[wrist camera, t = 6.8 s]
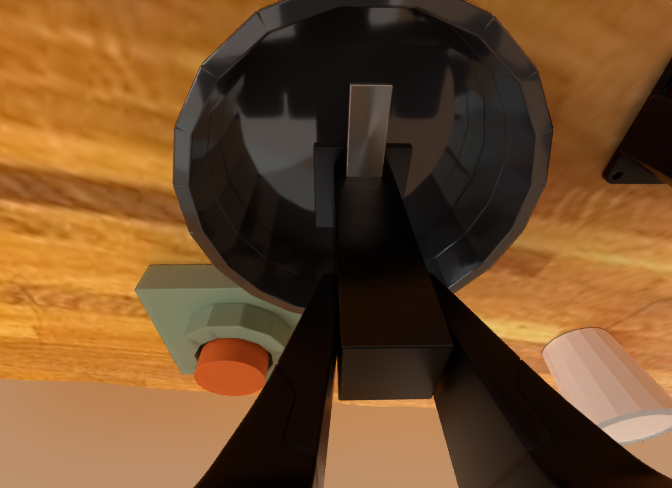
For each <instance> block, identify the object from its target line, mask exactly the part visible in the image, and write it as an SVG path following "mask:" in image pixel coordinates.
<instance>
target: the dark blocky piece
mask: <svg viewBox="0 0 672 488" xmlns="http://www.w3.org/2000/svg"><path fill="white" fill-rule="evenodd" d="M392 89H393V85H392V83H350V91H349V115H348V139H347V143H322V142H315V143H314V144H313V157H314V193H315V227H316V228H333V246H334V273H337V288H338V307H339V316H338V343H337V372H338V399H339V400H395V399H431V398H432V395H433V393H434V391H435V389H436V386H437V384H438V382H439V380H440V377H441V375H442V373H443V371H444V368H445V366H446V364H447V362H448V359H449V357H450V355H451V353H452V350H453V348H454V344H453V341H452V339H451V336H450V333H449V330H448V327H447V324H446V322H445V319H444V316H443V313H442V310H441V308H440V305H439V302H438V299H437V296H436V293H435V291H434V288H433V285H432V282H431V279H430V277H429V274H428V271H427V268H426V265H425V262H424V260H423V257H422V254H421V251H420V248H419V245H418V243H417V240H416V237H415V234H414V231H413V229H412V226H411V223H410V220H409V217H408V214H407V212H406V209H405V206H404V203H403V201H404V195H405V189H406V184H407V178H408V172H409V167H410V161H411V156H412V150H413V147H412V145H411V144H410V143H386V138H387V130H388V122H389V114H390V105H391V97H392Z"/></svg>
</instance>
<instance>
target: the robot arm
mask: <svg viewBox="0 0 672 488" xmlns="http://www.w3.org/2000/svg"><path fill="white" fill-rule="evenodd" d="M616 172H617V173H616ZM615 173H616V174H615ZM614 174H615V175H614ZM602 178H603V179H604V180H605V181H607V182H608V183H610V184H667V185H669V186H671V187H672V58H671V60H670V62H669V63H668V65H667V67H666V68H665V70H664V72H663V73H662V75H661V77H660V79H659V80H658V82H657V84H656V85H655V87H654V89H653V90H652V92H651V94H650V95H649V97H648V99H647V100H646V102H645V104H644V105H643V107H642V109H641V110H640V112H639V114H638V115H637V117H636V119H635V120H634V122H633V124H632V125H631V127H630V129H629V130H628V132H627V134H626V135H625V137H624V139H623V140H622V142H621V144H620V145H619V147H618V149H617V150H616V152H615V154H614V155H613V157H612V159H611V160H610V162H609V164H608V165H607V167H606V169H605V170H604V172H603V175H602ZM428 274H429V277H430V279H431V282H432V285H433V288H434V291H435V293H436V296H437V299H438V302H439V305H440V308H441V310H442V313H443V316H444V319H445V322H446V324H447V327H448V330H449V333H450V336H451V339H452V341H453V344H454V348H453V350H452V353H451V355H450V357H449V359H448V362H447V364H446V366H445V368H444V371H443V373H442V375H441V377H440V380H439V382H438V384H437V386H436V389H435V391H434V393H433V396H434V400H435V403H436V407H437V411H438V414H439V418H440V422H441V425H442V429H443V432H444V436H445V440H446V443H447V447H448V451H449V454H450V458H451V461H452V465H453V469H454V472H455V476H456V480H457V483H458V487H459V488H672V479H671V478H669V477H667V476H665V475H663V474H661V473H659V472H657V471H656V470H654V469H652V468H651V467H649V466H648V465H646V464H645V463H643V462H641V460H639V459H637V458H636V457H635V456H634V455H632V454H631V453H630V452H628V451H627V450H626V449H625V448H623V447H622V446H621V445H620V444H619V443H617V442H616V441H615V440H614V439H613V438H611V437H610V436H609V435H608V434H607V433H605V432H604V431H603V430H602V429H601V428H599V427H598V426H597V425H596V424H595V423H593V422H592V421H591V420H590V419H589V418H587V417H586V416H585V415H584V414H582V413H581V412H580V411H579V410H578V409H576V408H575V407H574V406H573V405H572V404H570V403H569V402H568V401H567V400H566V399H565V398H564V397H562V396H561V395H560V394H559V393H558V392H557V391H555V390H554V389H553V388H552V387H551V386H550V385H549V384H548V383H546V382H545V381H544V380H543V379H542V378H541V377H540V376H539V375H538V374H537V373H536V372H535V371H533V370H532V369H531V368H530V367H529V366H528V365H527V364H526V363H525V362H524V361H523V360H520V357H519V356H518V355H517V354H516V353H515V352H514V351H513V350H512V349H511V348H509V347H508V346H507V345H506V344H505V343H504V342H503V341H502V340H501V339H500V338H499V337H498V336H497V335H496V334H495V333H494V332H493V331H492V330H491V329H490V328H489V327H488V326H487V325H486V324H485V323H484V322H482V321H481V320H480V319H479V318H478V317H477V316H476V315H475V314H474V313H473V312H472V311H471V310H470V309H469V308H468V307H467V306H466V305H465V304H464V303H463V302H462V301H461V300H460V299H459V298H458V297H457V296H455V295H454V294H453V293H452V292H451V291H450V290H449V289H448V288H447V287H446V286H445V285H444V284H443V283H442V282H441V281H440V280H439V279H438V278H437V277H436V276H435V275H434V274H433V273H431V272H428ZM338 316H339V307H338V288H337V273H324V274H323V275H322V277H321V279H320V281H319V283H318V285H317V287H316V289H315V291H314V293H313V295H312V297H311V298H310V300H309V302H308V304H307V306H306V308H305V310H304V312H303V314H302V316H301V318H300V320H299V321H298V323H297V325H296V327H295V329H294V331H293V333H292V335H291V337H290V339H289V341H288V343H287V344H286V346H285V348H284V350H283V352H282V354H281V356H280V358H279V360H278V364H276V365H275V367H274V369H273V371H272V373H271V375H270V377H269V378H268V380H267V382H266V384H265V386H264V387H263V389H262V391H261V393H260V394H259V396H258V397H257V399H256V401H255V402H254V404H253V405H252V407H251V408H250V410H249V411H248V413H247V415H246V416H245V418H244V419H243V420H242V422H241V423H240V425H239V426H238V428H237V429H236V431H235V432H234V433H233V435H232V436H231V438H230V439H229V441H228V442H227V444H226V445H225V447H224V448H223V450H222V451H221V453H220V454H219V455H218V457H217V458H216V460H215V461H214V463H213V464H212V465H211V467H210V468H209V470H208V471H207V472H206V473H205V475H204V476H203V477H202V478H201V480H200V481H199V482H198V483H197V484H196V485H195V486H194V488H323V486H324V476H325V466H326V457H327V447H328V438H329V428H330V418H331V408H332V399H333V389H334V379H335V370H336V360H337V343H338Z"/></svg>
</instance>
